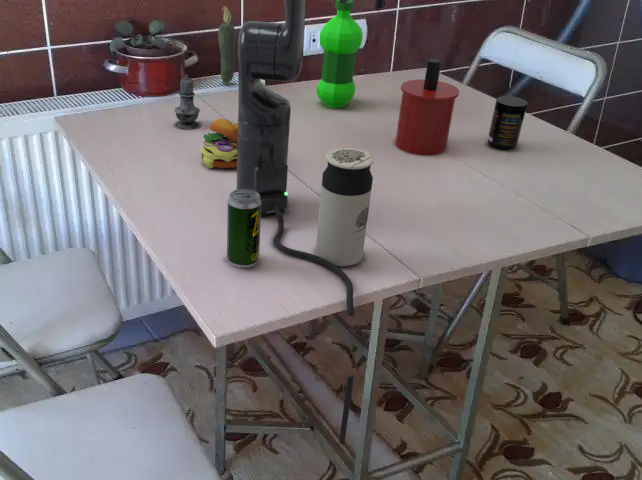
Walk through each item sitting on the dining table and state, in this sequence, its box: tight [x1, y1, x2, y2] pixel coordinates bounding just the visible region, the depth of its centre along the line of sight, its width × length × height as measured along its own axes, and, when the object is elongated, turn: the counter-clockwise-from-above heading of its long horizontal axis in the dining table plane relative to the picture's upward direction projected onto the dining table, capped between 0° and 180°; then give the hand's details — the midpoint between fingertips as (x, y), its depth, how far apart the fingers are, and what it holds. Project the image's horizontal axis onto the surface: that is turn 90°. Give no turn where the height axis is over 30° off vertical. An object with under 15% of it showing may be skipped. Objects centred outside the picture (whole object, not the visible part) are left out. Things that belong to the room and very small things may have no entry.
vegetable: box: [217, 5, 236, 85], centre depth 193 cm, size 4×4×20 cm
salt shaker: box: [174, 73, 201, 130], centre depth 171 cm, size 6×6×12 cm
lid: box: [400, 58, 460, 101], centre depth 160 cm, size 12×12×7 cm
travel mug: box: [315, 147, 375, 267], centre depth 122 cm, size 8×8×18 cm
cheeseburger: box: [200, 117, 238, 169], centre depth 156 cm, size 10×11×10 cm
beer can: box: [226, 188, 262, 269], centre depth 121 cm, size 5×5×12 cm
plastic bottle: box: [316, 0, 364, 109], centre depth 182 cm, size 10×10×25 cm
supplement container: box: [486, 95, 528, 151], centre depth 167 cm, size 7×7×10 cm
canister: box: [395, 92, 457, 156], centre depth 165 cm, size 11×11×12 cm
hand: (360, 6), depth 155 cm, fingers open, 8 cm apart
